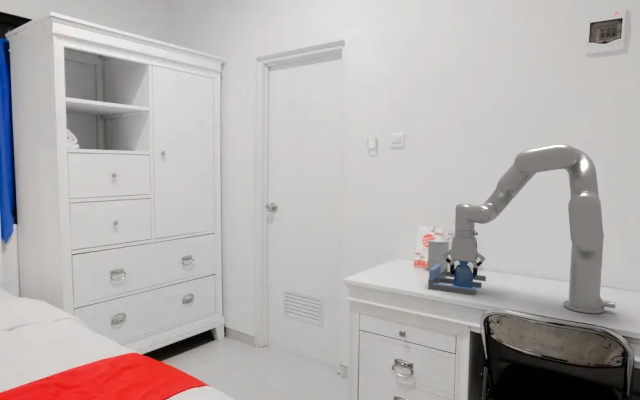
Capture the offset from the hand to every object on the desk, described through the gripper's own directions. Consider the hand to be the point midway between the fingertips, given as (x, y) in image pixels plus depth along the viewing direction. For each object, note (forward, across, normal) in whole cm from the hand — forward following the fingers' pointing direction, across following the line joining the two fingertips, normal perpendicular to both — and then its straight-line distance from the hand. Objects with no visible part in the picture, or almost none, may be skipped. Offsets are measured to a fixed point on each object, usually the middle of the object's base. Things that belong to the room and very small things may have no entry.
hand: (463, 275), depth 178 cm
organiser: (+6, +3, -6) cm, 9 cm away
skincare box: (+6, +17, -28) cm, 34 cm away
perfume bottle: (+5, 0, 0) cm, 5 cm away
